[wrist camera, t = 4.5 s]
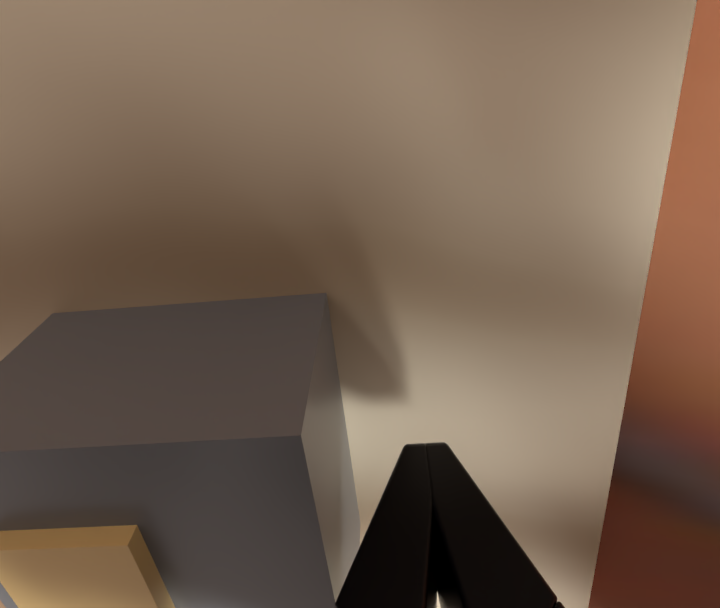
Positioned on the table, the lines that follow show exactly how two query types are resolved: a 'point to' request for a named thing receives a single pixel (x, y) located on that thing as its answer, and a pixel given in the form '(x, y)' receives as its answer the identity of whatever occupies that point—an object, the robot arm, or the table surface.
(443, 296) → the board
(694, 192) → the table surface
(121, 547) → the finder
